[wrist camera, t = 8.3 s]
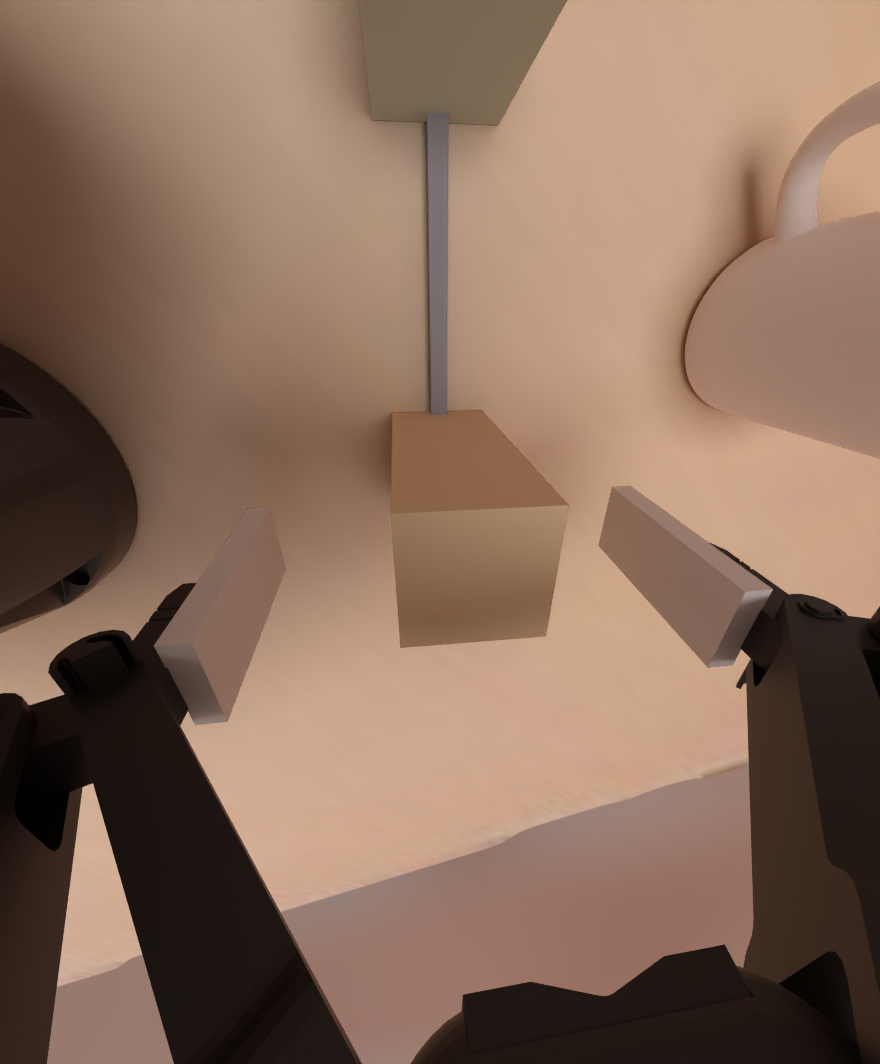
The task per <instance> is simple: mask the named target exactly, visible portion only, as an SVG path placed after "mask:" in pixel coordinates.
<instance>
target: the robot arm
mask: <svg viewBox="0 0 880 1064" xmlns="http://www.w3.org/2000/svg"><path fill="white" fill-rule="evenodd" d="M136 520H137V508H136V500H135V495H134V490H133V486H132V483H131V480H130V477H129V475H128V472H127V469H126V467H125V465H124V463H123V461H122V459H121V457H120V455H119V453H118V452H117V450H116V448H115V447H114V445H113V443H112V442H111V440H110V439H109V437H108V436H107V435H106V433H105V432H104V430H103V429H102V428H101V426H100V425H99V424H98V423H97V422H96V420H95V419H94V418H93V417H92V416H91V414H90V413H89V412H88V411H87V410H86V409H85V408H84V407H83V406H82V405H81V404H80V403H79V402H78V401H77V400H76V399H75V398H74V397H73V396H72V395H71V394H70V393H69V392H68V391H67V390H66V389H64V388H63V387H62V386H61V385H60V384H59V383H57V382H56V381H55V380H54V379H53V378H51V377H50V376H49V375H48V374H46V373H45V372H43V371H42V370H41V369H39V368H38V367H37V366H35V365H34V364H32V363H31V362H29V361H28V360H26V359H25V358H23V357H22V356H20V355H19V354H17V353H15V352H14V351H12V350H10V349H9V348H7V347H5V346H3V345H2V344H0V633H3V632H5V631H7V630H10V629H12V628H14V627H17V626H19V625H21V624H24V623H26V622H28V621H31V620H33V619H35V618H38V617H40V616H42V615H45V614H47V613H49V612H52V611H54V610H56V609H59V608H61V607H63V606H65V605H67V604H69V603H71V602H73V601H74V600H76V599H78V598H79V597H81V596H83V595H84V594H85V593H87V592H88V591H89V590H91V589H92V588H93V587H94V586H95V585H96V584H97V583H98V582H100V581H101V580H102V579H103V578H104V577H105V576H106V575H107V574H108V573H110V572H111V571H112V570H113V569H114V568H115V567H116V566H117V565H118V564H119V563H120V562H121V560H122V559H123V558H124V556H125V555H126V553H127V551H128V550H129V548H130V545H131V543H132V541H133V537H134V534H135V529H136ZM598 546H599V547H600V548H601V549H602V550H603V551H604V552H605V553H606V555H607V556H608V557H609V558H610V559H611V560H612V561H613V562H614V563H615V565H616V566H617V567H618V568H619V569H620V570H621V571H622V572H623V573H624V575H625V576H626V577H627V578H628V579H629V580H630V581H631V582H632V584H633V585H634V586H635V587H636V588H637V589H638V590H639V591H640V592H641V594H642V595H643V596H644V597H645V598H646V599H647V600H648V601H649V602H650V604H651V605H652V606H653V607H654V608H655V609H656V610H657V611H658V612H659V614H660V615H661V616H662V617H663V618H664V619H665V620H666V621H667V623H668V624H669V625H670V626H671V627H672V628H673V629H674V630H675V631H676V633H677V634H678V635H679V636H680V637H681V638H682V639H683V640H684V641H685V643H686V644H687V645H688V646H689V647H690V648H691V649H692V650H693V651H694V653H695V654H696V655H697V656H698V657H699V658H700V659H701V660H702V661H703V663H704V664H705V665H706V666H707V667H708V668H710V667H719V666H728V665H733V663H734V661H735V660H736V658H737V656H738V654H739V652H740V650H741V649H742V650H743V651H744V652H745V653H746V654H747V655H748V656H749V657H750V658H751V659H750V661H749V663H748V665H747V666H746V668H745V670H744V672H743V674H742V675H741V677H740V679H739V681H738V683H737V685H736V687H737V688H739V689H741V687H742V685H743V684H745V683H746V684H747V717H748V750H749V781H750V814H751V847H752V876H753V877H752V879H753V913H754V922H753V932H752V937H751V940H750V943H749V946H748V949H747V952H746V955H745V961H744V967H743V968H742V967H739V966H736V965H735V963H734V961H733V960H732V957H731V956H730V954H729V952H728V950H727V948H726V946H725V945H720V946H715V947H711V948H705V949H700V950H695V951H690V952H684V953H679V954H673V955H668V956H664V957H663V958H661V959H660V960H659V961H657V962H656V963H654V964H653V965H652V966H650V967H649V968H648V969H646V970H645V971H643V972H642V973H641V974H640V975H638V976H637V977H635V978H634V979H632V980H631V981H630V982H628V983H627V984H626V985H624V986H623V987H622V988H620V989H619V990H617V991H616V992H615V993H614V994H611V995H609V996H598V995H593V994H588V993H583V992H578V991H573V990H568V989H563V988H558V987H553V986H549V985H544V984H539V983H534V982H528V983H522V984H517V985H512V986H506V987H501V988H496V989H491V990H485V991H480V992H475V993H470V994H465V995H463V1001H462V1011H461V1012H460V1013H458V1014H457V1015H455V1016H454V1017H453V1018H451V1019H450V1020H448V1021H447V1022H446V1023H444V1024H443V1025H442V1026H441V1027H440V1028H439V1029H438V1030H437V1031H436V1032H435V1033H434V1034H433V1035H432V1036H431V1037H430V1038H429V1039H428V1041H427V1042H426V1043H425V1044H424V1046H423V1047H422V1048H421V1049H420V1051H419V1052H418V1053H417V1055H416V1056H415V1058H414V1059H413V1061H412V1062H411V1064H880V607H879V608H878V609H877V611H876V612H875V614H874V615H873V616H872V618H871V619H868V618H860V617H852V616H848V615H847V614H846V613H845V612H844V611H842V610H841V609H840V608H838V607H837V606H835V605H833V604H831V603H829V602H827V601H825V600H822V599H819V598H816V597H813V596H809V595H804V594H791V595H789V594H787V593H786V592H784V591H783V590H782V589H780V588H779V587H777V586H776V585H775V584H773V583H772V582H770V581H769V580H768V579H766V578H765V577H763V576H762V575H760V574H759V573H758V572H756V571H755V570H753V569H750V567H749V566H748V565H746V564H745V563H744V562H740V561H739V559H738V558H737V557H735V556H734V555H732V554H731V553H729V552H728V551H727V550H725V549H722V548H720V547H718V546H716V545H714V544H711V543H709V542H707V541H706V540H704V539H703V538H702V537H700V536H699V535H697V534H696V533H695V532H693V531H692V530H691V529H689V528H688V527H686V526H685V525H684V524H682V523H681V522H680V521H678V520H677V519H675V518H674V517H673V516H671V515H670V514H669V513H667V512H666V511H664V510H663V509H662V508H660V507H659V506H658V505H656V504H655V503H653V502H652V501H651V500H649V499H648V498H646V497H645V496H644V495H642V494H641V493H640V492H638V491H637V490H635V489H634V488H633V487H631V486H617V487H612V489H611V494H610V498H609V502H608V507H607V511H606V515H605V519H604V524H603V528H602V532H601V537H600V541H599V545H598ZM284 572H285V565H284V561H283V557H282V553H281V549H280V545H279V541H278V537H277V533H276V529H275V525H274V521H273V517H272V514H271V510H270V507H261V508H248V509H247V510H246V512H245V513H244V515H243V516H242V518H241V519H240V520H239V522H238V523H237V525H236V526H235V528H234V529H233V531H232V532H231V534H230V535H229V537H228V538H227V539H226V541H225V542H224V544H223V545H222V547H221V548H220V550H219V551H218V553H217V554H216V556H215V557H214V558H213V560H212V561H211V563H210V564H209V566H208V567H207V569H206V570H205V572H204V573H203V575H202V576H201V577H200V579H199V580H198V582H197V583H188V584H182V585H181V586H179V587H178V588H177V589H175V590H174V591H173V592H171V593H170V594H169V595H167V596H166V598H165V599H164V600H163V602H162V603H161V604H160V606H159V607H158V608H157V611H155V612H154V614H153V615H152V616H151V618H150V619H149V622H147V623H146V624H145V625H144V627H143V628H142V629H141V631H140V632H139V633H138V635H137V636H136V637H135V639H134V640H133V641H132V639H131V638H130V636H129V635H128V634H127V633H125V632H124V631H119V630H108V631H102V632H98V633H95V634H92V635H89V636H86V637H84V638H82V639H80V640H78V641H76V642H74V643H72V644H70V645H69V646H68V647H66V648H65V649H64V650H63V651H61V652H60V653H59V654H57V656H56V657H55V658H54V660H53V661H52V662H51V663H50V667H49V672H48V673H49V674H50V675H51V677H52V678H53V679H54V681H55V682H56V683H57V684H58V686H59V687H60V688H61V690H62V691H63V692H64V694H65V695H62V696H58V697H55V698H52V699H49V700H46V701H42V702H39V703H36V704H33V705H30V706H29V705H28V704H27V703H26V701H25V700H24V699H23V698H22V697H21V696H19V695H17V694H16V693H2V694H0V1064H47V1057H48V1050H49V1042H50V1034H51V1026H52V1019H53V1011H54V1003H55V995H56V988H57V980H58V972H59V965H60V957H61V949H62V941H63V934H64V926H65V918H66V910H67V903H68V895H69V887H70V879H71V872H72V864H73V856H74V848H75V841H76V833H77V825H78V817H79V810H80V802H81V794H82V787H84V786H86V785H89V784H92V783H93V784H94V788H95V791H96V795H97V798H98V802H99V805H100V809H101V812H102V816H103V819H104V823H105V826H106V829H107V833H108V836H109V840H110V843H111V847H112V850H113V854H114V857H115V861H116V864H117V868H118V871H119V875H120V878H121V882H122V885H123V888H124V892H125V895H126V899H127V902H128V906H129V909H130V913H131V916H132V920H133V923H134V927H135V930H136V934H137V937H138V940H139V944H140V947H141V951H142V954H143V958H144V961H145V964H146V968H147V972H148V975H149V978H150V982H151V986H152V989H153V992H154V996H155V999H156V1003H157V1006H158V1010H159V1013H160V1016H161V1020H162V1024H163V1027H164V1031H165V1034H166V1037H167V1041H168V1044H169V1048H170V1052H171V1055H172V1058H173V1062H174V1064H362V1063H361V1061H360V1059H359V1057H358V1055H357V1053H356V1051H355V1049H354V1048H353V1046H352V1044H351V1042H350V1040H349V1038H348V1037H347V1035H346V1033H345V1031H344V1029H343V1028H342V1026H341V1024H340V1022H339V1020H338V1019H337V1017H336V1015H335V1013H334V1011H333V1009H332V1007H331V1006H330V1004H329V1002H328V1000H327V998H326V996H325V995H324V993H323V991H322V989H321V987H320V985H319V983H318V982H317V980H316V978H315V976H314V974H313V972H312V970H311V969H310V967H309V965H308V963H307V961H306V959H305V957H304V955H303V954H302V952H301V950H300V948H299V946H298V944H297V943H296V941H295V939H294V937H293V935H292V933H291V931H290V929H289V928H288V926H287V924H286V922H285V920H284V918H283V916H282V915H281V913H280V911H279V909H278V907H277V905H276V903H275V902H274V900H273V898H272V896H271V894H270V892H269V890H268V888H267V887H266V885H265V883H264V881H263V879H262V877H261V875H260V874H259V872H258V870H257V868H256V866H255V864H254V862H253V861H252V859H251V857H250V855H249V853H248V851H247V849H246V848H245V846H244V844H243V842H242V840H241V838H240V836H239V835H238V833H237V831H236V829H235V827H234V825H233V823H232V822H231V820H230V818H229V816H228V814H227V812H226V810H225V809H224V807H223V805H222V803H221V801H220V799H219V797H218V796H217V794H216V792H215V790H214V788H213V786H212V784H211V783H210V781H209V779H208V777H207V775H206V773H205V771H204V769H203V768H202V766H201V764H200V762H199V760H198V758H197V756H196V755H195V753H194V751H193V749H192V747H191V745H190V743H189V742H188V740H187V738H186V736H185V734H184V732H183V731H182V729H181V727H180V725H181V723H182V721H183V719H184V717H185V715H186V713H187V711H188V712H189V714H190V716H191V718H192V720H193V722H194V723H195V725H201V724H210V723H219V722H228V719H229V716H230V714H231V711H232V708H233V706H234V703H235V701H236V698H237V695H238V693H239V690H240V687H241V685H242V682H243V680H244V677H245V674H246V672H247V669H248V666H249V664H250V661H251V659H252V656H253V653H254V651H255V648H256V645H257V643H258V640H259V638H260V635H261V632H262V630H263V627H264V624H265V622H266V619H267V616H268V614H269V611H270V609H271V606H272V603H273V601H274V598H275V595H276V593H277V590H278V588H279V585H280V582H281V580H282V577H283V574H284Z"/></svg>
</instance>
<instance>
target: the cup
mask: <svg viewBox="0 0 880 1064" xmlns="http://www.w3.org/2000/svg"><path fill="white" fill-rule="evenodd" d="M879 123H880V82H878V83H876V84H874V85H872V86H870V87H868V88H866V89H864V90H863V91H861V92H859V93H858V94H856V95H854V96H853V97H851V98H850V99H848V100H847V101H846V102H844V103H843V104H841V105H840V106H839V107H837V108H836V109H835V110H834V111H833V112H831V113H830V114H829V115H828V116H826V117H825V118H824V119H823V120H822V121H821V122H820V123H819V124H818V125H817V126H816V127H815V128H814V129H813V130H812V131H811V132H810V133H809V135H808V136H807V137H806V138H805V140H804V141H803V142H802V144H801V145H800V147H799V148H798V150H797V151H796V153H795V155H794V156H793V158H792V160H791V162H790V164H789V166H788V168H787V170H786V172H785V175H784V178H783V181H782V184H781V187H780V191H779V196H778V201H777V208H776V218H775V236H773V237H771V238H769V239H766V240H764V241H762V242H760V243H758V244H757V245H755V246H753V247H752V248H750V249H749V250H748V251H746V252H745V253H743V254H742V255H740V256H739V257H738V258H737V259H736V260H734V261H733V262H732V263H731V264H730V265H729V266H728V267H727V268H726V269H725V270H724V271H723V272H722V273H721V274H720V275H719V276H718V277H717V279H716V280H715V281H714V282H713V284H712V285H711V286H710V288H709V289H708V291H707V292H706V293H705V295H704V297H703V298H702V300H701V302H700V303H699V305H698V307H697V309H696V311H695V314H694V316H693V318H692V321H691V324H690V327H689V330H688V334H687V339H686V344H685V367H686V373H687V376H688V380H689V382H690V384H691V386H692V388H693V390H694V391H695V393H696V394H697V395H698V396H699V398H700V399H702V400H703V401H704V402H705V403H706V404H708V405H710V406H711V407H713V408H715V409H717V410H720V411H722V412H725V413H728V414H731V415H734V416H737V417H741V418H744V419H747V420H751V421H754V422H758V423H761V424H764V425H768V426H771V427H774V428H778V429H781V430H784V431H788V432H791V433H795V434H798V435H801V436H805V437H808V438H811V439H815V440H818V441H822V442H825V443H828V444H832V445H835V446H838V447H842V448H845V449H848V450H852V451H855V452H859V453H862V454H865V455H869V456H872V457H875V458H879V459H880V211H877V212H873V213H868V214H863V215H859V216H854V217H850V218H845V219H840V220H836V221H831V222H826V223H821V224H817V206H816V204H817V188H818V182H819V178H820V174H821V171H822V169H823V166H824V164H825V162H826V160H827V158H828V157H829V156H830V154H831V153H832V152H833V151H834V150H835V149H836V148H837V147H838V146H839V145H840V144H841V143H842V142H844V141H845V140H846V139H848V138H850V137H851V136H853V135H855V134H856V133H858V132H860V131H862V130H864V129H866V128H869V127H871V126H873V125H876V124H879Z"/></svg>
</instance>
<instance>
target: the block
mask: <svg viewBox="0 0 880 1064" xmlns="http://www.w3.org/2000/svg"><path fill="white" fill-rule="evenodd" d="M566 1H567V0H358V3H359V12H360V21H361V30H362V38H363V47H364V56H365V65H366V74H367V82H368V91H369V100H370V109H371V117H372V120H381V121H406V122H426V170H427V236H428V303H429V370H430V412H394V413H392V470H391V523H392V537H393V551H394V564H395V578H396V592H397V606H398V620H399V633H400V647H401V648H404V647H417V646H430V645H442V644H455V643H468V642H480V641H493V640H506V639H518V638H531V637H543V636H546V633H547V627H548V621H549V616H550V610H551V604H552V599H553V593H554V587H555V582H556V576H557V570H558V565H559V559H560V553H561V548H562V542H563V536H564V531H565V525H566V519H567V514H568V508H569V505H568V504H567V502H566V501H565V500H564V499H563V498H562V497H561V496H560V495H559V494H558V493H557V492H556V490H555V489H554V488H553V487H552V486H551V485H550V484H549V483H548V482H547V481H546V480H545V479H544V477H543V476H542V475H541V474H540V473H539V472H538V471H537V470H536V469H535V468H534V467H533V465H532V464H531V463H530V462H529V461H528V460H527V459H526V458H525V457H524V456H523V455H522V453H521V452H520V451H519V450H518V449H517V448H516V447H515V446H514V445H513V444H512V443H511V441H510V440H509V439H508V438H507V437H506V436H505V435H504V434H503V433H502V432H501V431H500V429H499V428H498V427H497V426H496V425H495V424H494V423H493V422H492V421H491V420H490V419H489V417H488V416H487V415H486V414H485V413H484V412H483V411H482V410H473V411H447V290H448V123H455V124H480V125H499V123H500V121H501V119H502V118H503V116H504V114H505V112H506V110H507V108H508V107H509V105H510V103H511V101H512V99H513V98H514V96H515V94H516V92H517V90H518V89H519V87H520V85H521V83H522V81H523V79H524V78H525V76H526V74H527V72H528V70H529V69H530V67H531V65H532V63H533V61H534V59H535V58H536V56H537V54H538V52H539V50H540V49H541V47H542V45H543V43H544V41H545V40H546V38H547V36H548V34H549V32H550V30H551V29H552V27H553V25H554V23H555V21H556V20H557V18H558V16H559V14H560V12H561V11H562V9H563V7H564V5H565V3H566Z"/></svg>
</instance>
